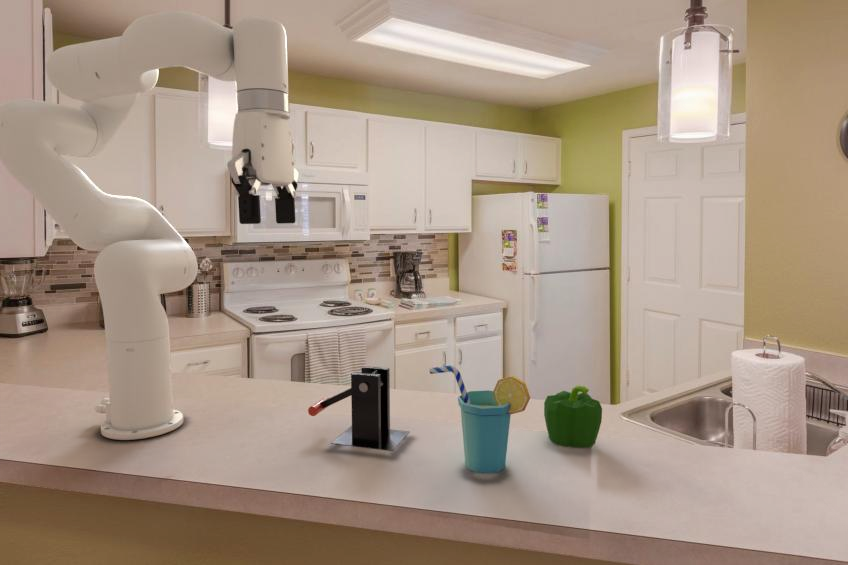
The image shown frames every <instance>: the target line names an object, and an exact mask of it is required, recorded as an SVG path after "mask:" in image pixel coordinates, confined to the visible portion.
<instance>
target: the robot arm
mask: <svg viewBox="0 0 848 565" xmlns="http://www.w3.org/2000/svg"><path fill="white" fill-rule="evenodd" d="M175 67H182V68H186V69H189V70H192V71H194V72H198V73H200V74H203V75H205V76H208V77H211V78H213V79H215V80H218V81H222V82H227V83H229V82H235V96H236V97H235V98H236V113H235V116H234V120H233V129H232V144H231V145H232V149H231V150H232V152H231V156H232V159H230V160H229V161H228V162H227V163H226V164H227V165H226V166H227V168H228V172H229V175H230V177H231V178H230V179H231V180H230V181H231V184H232V185H233V186H234V188H235V189H234V193H235V195H236V196H237V203H238V220H239V224H241V225H259V224H261V222H262V219H261V215H262V214H261V198H260V196H261V195H259V194H257V192H258V191H259V188H260V186H261V187H262V186H263V187H268V186H270V185H272V188H273V190H274V192H275V195H276V198H274V205H275V206H274V207H275V209H274V210H275V222H276V224H279V225H281V224H296V202H295V200H296V199H295V198H296V197H297V192H296V191H297V189H298V179H299V175H300V174H299V171H298V169H297V168H296V167H295V163H294V149H293V141H292V134H291V128H290V122H289V120H290V117H291V116H290V96H289V94H290V93H289V70H288V67H289V66H288V46H287V33H286V29H285V27H284V25H283V23H281V22H280V21H279V20H277V19H275V18H272V17H269V16H264V15H248V16H247V15H246V16H242V17H240V18H238V19H237V20H236V21H235V23H234V24H233V28H232V29H231V28H229V27H226V26H224V25H222V24H220V23H218V22H216V21H214V20H212V19H210V18H208V17H207V16H204V15H202V14H200V13H198V12H195V11H192V10H185V9H184V10H183V9H180V10H178V9H176V10H167V11H162V12H161V11H160V12H156V13H151V14H145V15H143V16H140V17H138V18H136V19H134V20H133V21H132V22H131V23H130V24H129V25H128V26H127V27H126V28H125V30H124V31H123V32H122V35H119V36H113V37H109V38H102V39H95V40H91V41H85V42H79V43H73V44H69V45H65V46H62V47H59V48H57V49H55V50H54V51H53V52H51V53H50V54H49V56H48V57H47V60H46V64H45V73H46V76H47V78H48V81H49V82H50V83H51V85H52V86H53V87H54V88H55V89H56V90H57V91H58V92H59V93H61V94H62V95H65V96H66V97H68V98H71V99H74V100H77V101H81V102H82V103H81V105H80V107H79V108H78V107H74V106H69V105H64V104H60V103H57V102H56V103H55V102H50V101H46V100H41V99H34V98H14V99H9V100H7V101H4V102H2V103H1V104H0V163H1V164H2V165H3V167H4V168H5V169H6V171H7V172H8V173H9V174H10V175H11V176H12V177H13V179H15V180H16V181H17V182H18V183H19V184H20V185H21V186H22V187H23V188H24V189H25V190H26V191H27V192H28V193H29V194H30V195H31V196H32V197H33V198H34V199H36V201H37V202H38V203H39V205H41V207H42V208H43V209H44V211H45V212H46V213H47V214H48V215H49V216H50V217H51V218H52V220H53V221H54V222H55V223H56V224H57V225H58V227H60V229H61V230H62V232H64V233H65V234H66V235H67V237H68V238H69V239H70V240H71V241H72V242H73V243H74V244H75V245H76V246H77V247H79V248H80V249H82V250H85V251H90V252H99V253H98V254H97V256H96V258H95V260H94V264H93V275H94V280H95V284H96V288H97V291H98V295H99V298H100V303H101V307H102V312H103V313H102V314H103V321H104V322H103V323H104V335H105V347H106V362H107V364H106V365H107V380H108V394H109V397H104V398H103V399H102V400H101V401H100V404H97V405H96V406H95V412H96V413H99V414H105V418H106V420H104V422H102V424H100V434H101V435H102V436H103V437H104V438H107V439H110V440H116V441H133V440H142V439H148V438H153V437H158V436H161V435H164V434H167V433H170V432H172V431H174V430H177V429H178V428H179V427H180V426H182V425H183V423H184V413H182V412H181V411H179V410H177V409H174V399H173V398H174V397H173V376H172V360H171V359H172V358H171V339H170V338H171V336H170V325H169V319H168V315H167V312H166V310H165V308H164V306H163V305H162V302H161V301H160V298H159V296H158V295H163V294H169V293H174V292H178V291H182V290H184V289H187V288H188V287H189V286H191V285H192V284H193V283H194V281H195V280H196V278H197V275H198V271H199V264H198V260H197V257H196V254H195V251H193V249H192V247H191V246H190V245H189V243H188V242H187V241H186V240H185V239H184V238H183V237H182V235H181V234H180V233H179V232H178V230H176V229H175V227H174V226H172V224H170V222H169V221H168V219H167V218H165V216H163V214H162V213H161V212H160V211H159V210H158V208H156V207H155V206H153V205H152V204H151V203H150V202H148V201H146V200H144V199H142V198H139V197H136V196H135V197H134V196H128V195H113V194H109V193H106V192H104V191H102V190H101V189H100V188H99V187H98V186H97V185H95V183H94V182H93V181H92V180H91V179H90V178H89V177H88V175H87V174H86V173H85V172H84V171H83V170H81V169H80V168H79V166H77V165H75V164H74V163H72V162H71V161H69V160H68V159H66V158H65V157H63V156H67V157H69V156H70V157H76V158H90V157H94V156H97V155H98V154H100V153H101V152H103V151H104V150H105V149H106V148H107V147H108V145H109V144H110V143H111V141H112V140H113V138H114V137H115V135H116V134H117V132H119V129H120V128H121V127H122V125H123V124H124V122H125V121H126V120H127V118H128V117H129V115H130V114H131V113H132V110H133V108H134V107H135V105H136V104H137V102H138V99H139V97H140V94H142V93H146V92H149V91H151V90H152V89H153V88H155V86H156V85H157V83H158V80H159V69H160V70H161V69H166V68H175Z"/></svg>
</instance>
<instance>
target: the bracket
mask: <svg viewBox="0 0 848 565" xmlns="http://www.w3.org/2000/svg"><path fill="white" fill-rule="evenodd" d="M360 370H361V372H352V373H351V375H350V388H351V396H350V397H351V398H350V399H351V425H350V427H348V428H347V429H346V430H345V431H344V432H343V433H341V434H340V435H339V436H338V437H337V438H335V439H334V440H333V441H332V442H331V445H340V446H346V447H347V446H348V447H357V448H362V449H363V448H364V449H370V450H371V449H373V450H381V451H387V452H388V451H389V452H394V450H396V448H398V446H399V445H400V444H401V443H402V442H403V441H404V439H405V438H407V436H408V435H409V434H410V431H406V430H399V429H391V411H390V410H391V399H390V398H391V395H390V394H391V392H390V389H391V388H390V387H391V386H390V382H391V380H390V378H391V377H390V376H391V375H390V367H381V366H380V367H379V366H368V365H363V366H362V367H361V368H360ZM376 370H377V371H378V373H379V374H370V373H372V372H374V371H376ZM380 377H381V379H382V381H383V383H384V384H383V385H382V386H381V387H380Z"/></svg>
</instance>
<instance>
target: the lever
mask: <svg viewBox="0 0 848 565" xmlns="http://www.w3.org/2000/svg"><path fill="white" fill-rule="evenodd" d="M370 374H379V373H378V371H377V370H376V371H374V372H372V373H370ZM383 384H384V383H383V381H382V379H381V377H380V387H381V386H382V385H383ZM349 397H351V387H349V388H347V389H345V390H343V391H342V392H339V393H337V394H335V395H333V396H331V397H327V396H326V397H323V398H321V399H320V400H319V401H317V402H315V403H313V404H311V405H310V406H309V407H308V409H307V412H308V415H309V416H311V417H315V416H317V415H318V414H320V413H321V412H323V411H324V410H325V409H327V408H329V407H330V406H332V405H334V404H337V403H339V402H341V401H342V400H345V399H347V398H349Z"/></svg>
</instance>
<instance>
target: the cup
mask: <svg viewBox="0 0 848 565" xmlns="http://www.w3.org/2000/svg"><path fill="white" fill-rule="evenodd" d="M428 371H429V374H430V375H433V374H442V373H443V374H444V373H453V375H454V378H455V380H456V383H457V386H458V389H459V391H460V394H461V395H459V396H457V404H458V406H459V407H460V418H461V430H462V443H463V452H464V463H465V466H466V468H467V469H468V471H471V472H474V473H478V474H482V475H483V474H484V475H485V474H497V473H500V472H501V471H502V470H503V469H505V468H506V462H507V452H508V443H509V434H510V424H511V415H514V414H518V413H522V412H524V411H526V408H527V406H528V404H529V402H530V399H531V395H530V392H529V390H528V386H527V384H526V382H524V381H522V380H521V379H519V378H518V377H515V376H514V375H511V376H507V377H504V378H500V379H498V380H497V381H496V384H495V386H494V389H493V390H471V391H468V392H467V389H466V386H465V384H464V380H463V378H462V375H461V372H460V371H459V370H458V368H456V367H455V366H454V365H451V364H450V365H443V366H437V367H430V368H429V370H428Z"/></svg>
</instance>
